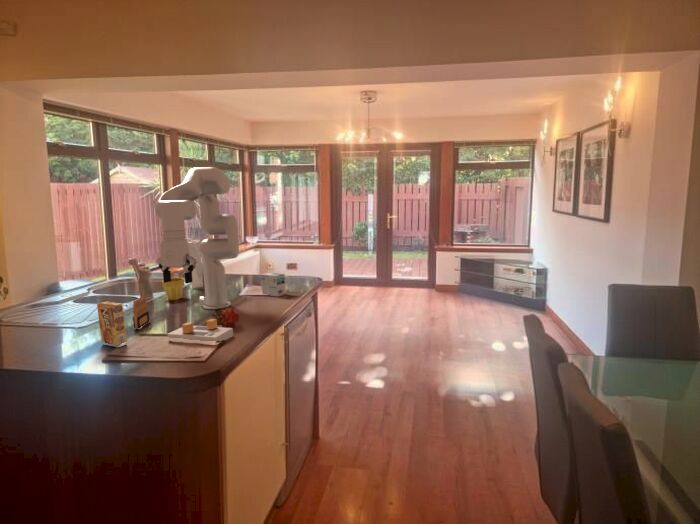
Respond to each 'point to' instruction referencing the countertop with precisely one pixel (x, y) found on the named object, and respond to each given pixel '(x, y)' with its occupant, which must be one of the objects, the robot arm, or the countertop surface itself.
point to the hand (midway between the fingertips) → (178, 282)
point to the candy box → (112, 323)
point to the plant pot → (173, 288)
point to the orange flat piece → (140, 312)
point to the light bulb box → (273, 284)
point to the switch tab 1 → (187, 327)
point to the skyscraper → (198, 270)
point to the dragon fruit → (227, 317)
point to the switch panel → (203, 333)
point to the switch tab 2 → (211, 323)
